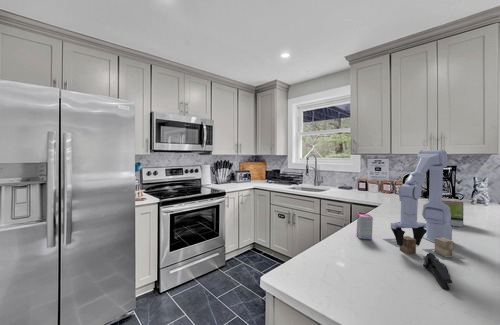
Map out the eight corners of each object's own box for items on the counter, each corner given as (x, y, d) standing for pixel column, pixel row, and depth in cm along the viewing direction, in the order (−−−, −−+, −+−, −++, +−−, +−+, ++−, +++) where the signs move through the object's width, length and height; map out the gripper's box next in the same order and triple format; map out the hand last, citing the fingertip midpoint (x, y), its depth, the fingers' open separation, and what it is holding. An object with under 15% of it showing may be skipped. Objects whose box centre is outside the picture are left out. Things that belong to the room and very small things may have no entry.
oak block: (441, 251, 96) (442, 237, 96) (452, 255, 92) (452, 240, 92) (434, 252, 95) (434, 238, 94) (444, 256, 91) (445, 241, 91)
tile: (401, 238, 111) (401, 238, 111) (418, 246, 101) (418, 246, 101) (382, 239, 110) (382, 238, 110) (397, 247, 100) (397, 247, 100)
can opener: (420, 264, 85) (420, 249, 85) (443, 268, 82) (444, 253, 82) (432, 288, 69) (432, 270, 69) (461, 294, 66) (462, 276, 66)
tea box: (459, 223, 138) (459, 199, 137) (463, 227, 129) (464, 201, 129) (428, 219, 146) (428, 196, 145) (430, 223, 137) (430, 199, 137)
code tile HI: (443, 248, 99) (443, 248, 99) (466, 259, 89) (466, 259, 89) (421, 249, 98) (421, 249, 98) (443, 260, 88) (443, 259, 88)
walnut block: (408, 249, 98) (408, 236, 97) (415, 253, 94) (416, 239, 93) (399, 250, 97) (399, 236, 97) (406, 254, 93) (407, 239, 93)
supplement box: (372, 240, 108) (373, 216, 108) (359, 239, 109) (359, 216, 109) (368, 236, 114) (369, 213, 113) (356, 235, 115) (356, 213, 115)
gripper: (399, 215, 90) (398, 249, 91) (433, 215, 91) (432, 248, 92) (387, 211, 97) (386, 242, 98) (419, 211, 98) (418, 241, 99)
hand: (408, 245), depth 95 cm, fingers open, 7 cm apart
